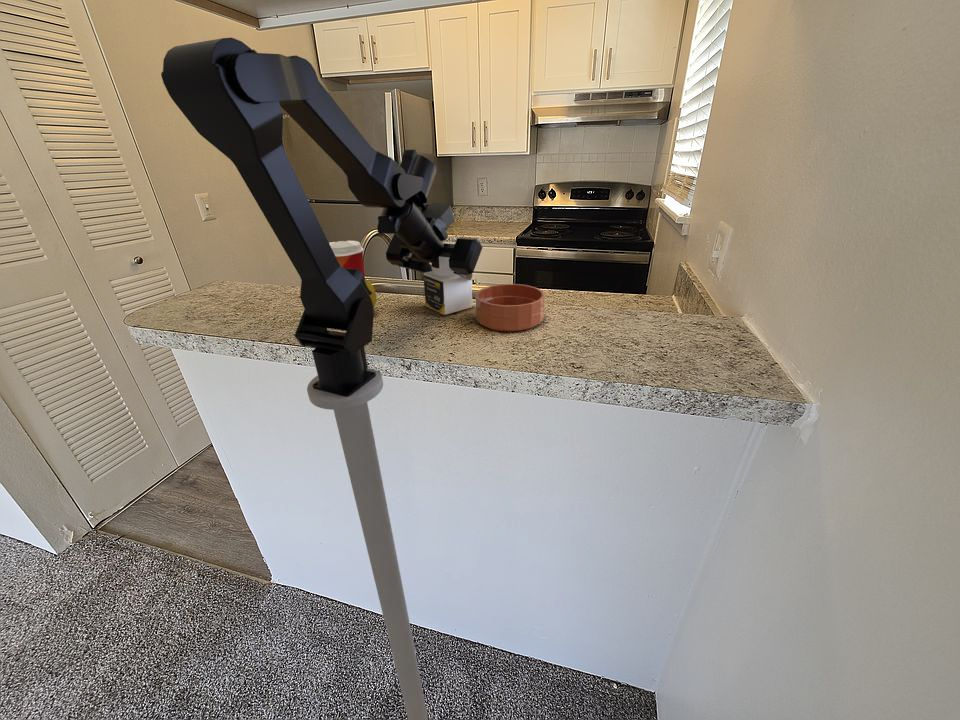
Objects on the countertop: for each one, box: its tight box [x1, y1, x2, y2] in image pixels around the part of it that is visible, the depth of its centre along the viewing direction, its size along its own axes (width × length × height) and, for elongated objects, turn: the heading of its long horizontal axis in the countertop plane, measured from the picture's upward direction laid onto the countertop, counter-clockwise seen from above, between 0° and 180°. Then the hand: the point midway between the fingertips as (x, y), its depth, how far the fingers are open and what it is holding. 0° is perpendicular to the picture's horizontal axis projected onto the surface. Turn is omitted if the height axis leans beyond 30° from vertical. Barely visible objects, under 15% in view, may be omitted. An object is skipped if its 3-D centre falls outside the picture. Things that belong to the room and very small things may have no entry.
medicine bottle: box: [422, 256, 473, 316], centre depth 81 cm, size 7×7×12 cm
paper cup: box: [329, 240, 366, 279], centre depth 77 cm, size 8×8×14 cm
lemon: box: [365, 278, 377, 309], centre depth 79 cm, size 6×6×8 cm
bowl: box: [475, 283, 546, 332], centre depth 76 cm, size 13×13×5 cm
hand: (451, 275), depth 82 cm, fingers closed on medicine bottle, 9 cm apart
